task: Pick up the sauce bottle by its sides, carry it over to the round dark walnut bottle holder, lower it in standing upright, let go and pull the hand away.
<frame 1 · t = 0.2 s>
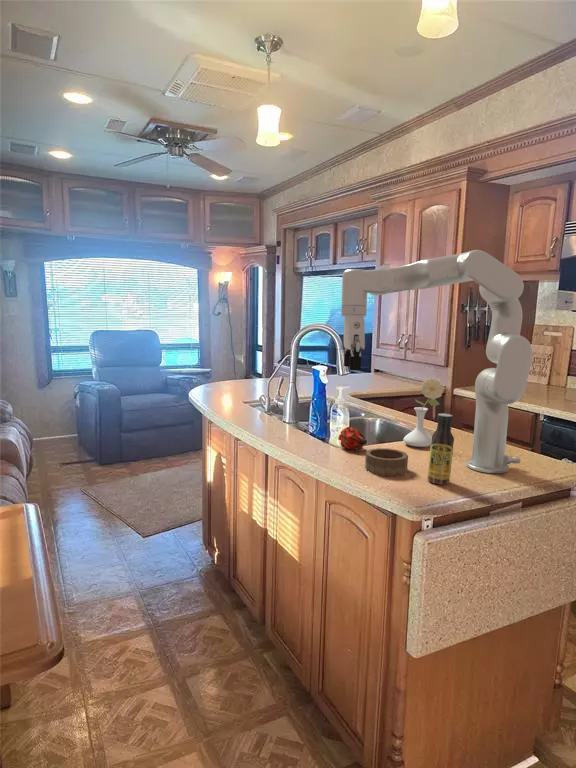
hand: (351, 368, 153), 31 cm above the worktop, tool pointing down, fingers open, 9 cm apart
dragon fruit: (352, 449, 177), on the worktop
sauce bottle: (439, 482, 144), on the worktop
flower in vase: (421, 446, 184), on the worktop
bottle holder: (385, 469, 155), on the worktop
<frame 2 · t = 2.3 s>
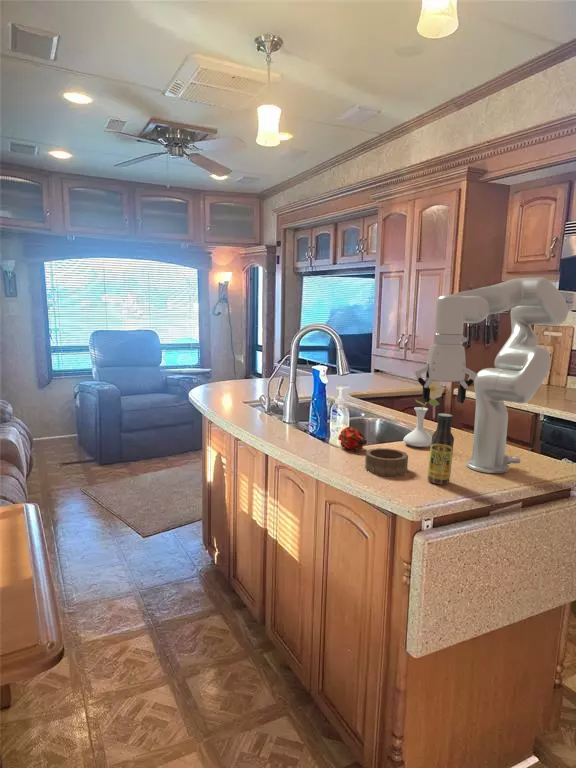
hand: (443, 401, 141), 24 cm above the worktop, tool pointing down, fingers open, 9 cm apart
nothing on the worktop moved.
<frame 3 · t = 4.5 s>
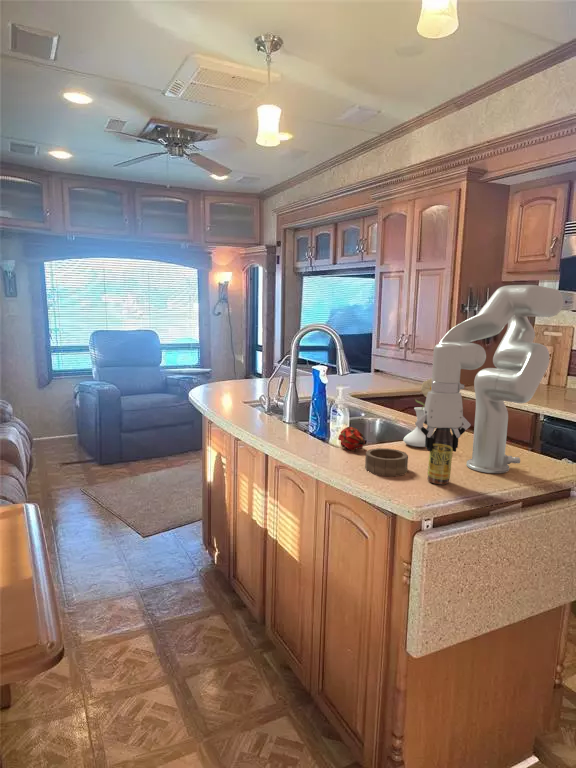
hand: (441, 449, 143), 10 cm above the worktop, tool pointing down, fingers closed on sauce bottle, 6 cm apart
sauce bottle: (439, 482, 144), on the worktop, touching gripper
everything else where it was.
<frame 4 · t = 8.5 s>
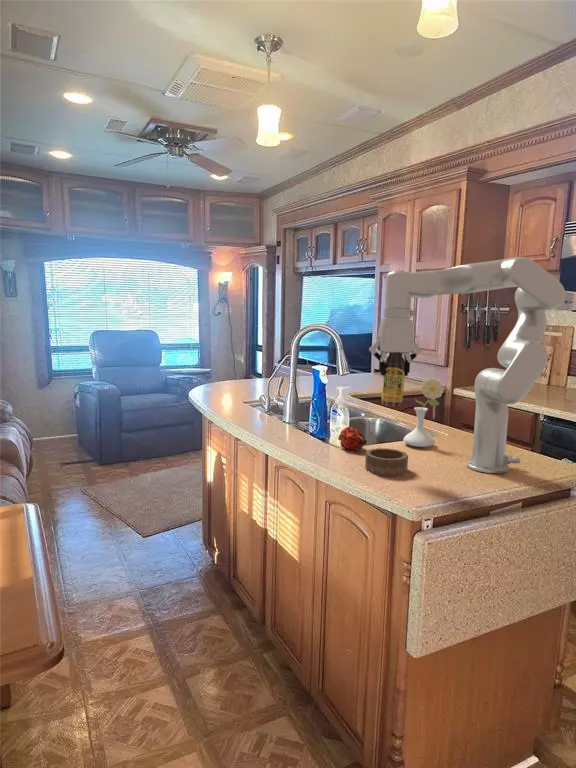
hand: (393, 374, 150), 30 cm above the worktop, tool pointing down, fingers closed on sauce bottle, 6 cm apart
sauce bottle: (392, 406, 151), point 20 cm above the worktop, touching gripper
everything else where it was.
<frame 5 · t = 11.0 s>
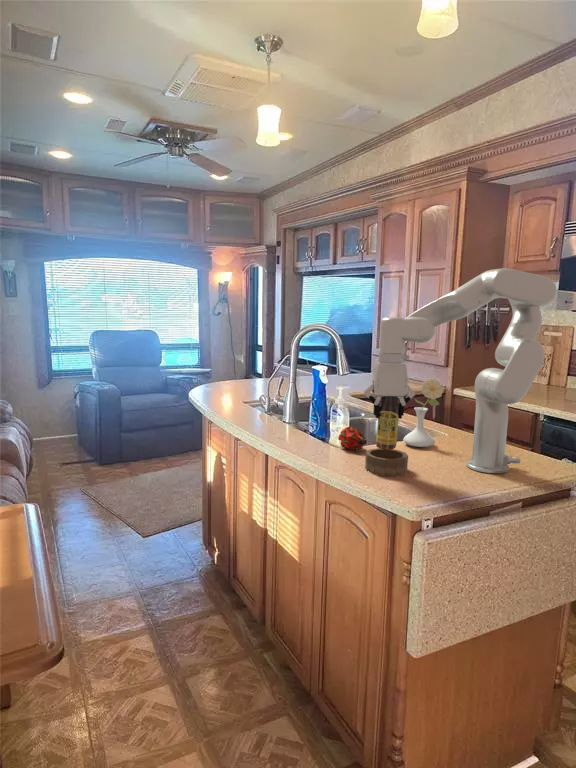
hand: (388, 417, 152), 17 cm above the worktop, tool pointing down, fingers closed on sauce bottle, 6 cm apart
sauce bottle: (386, 448, 154), point 7 cm above the worktop, touching gripper
everything else where it was.
when the fingers open (12 cm above the worktop, at t = 12.9 s): sauce bottle drops 1 cm, resting on bottle holder.
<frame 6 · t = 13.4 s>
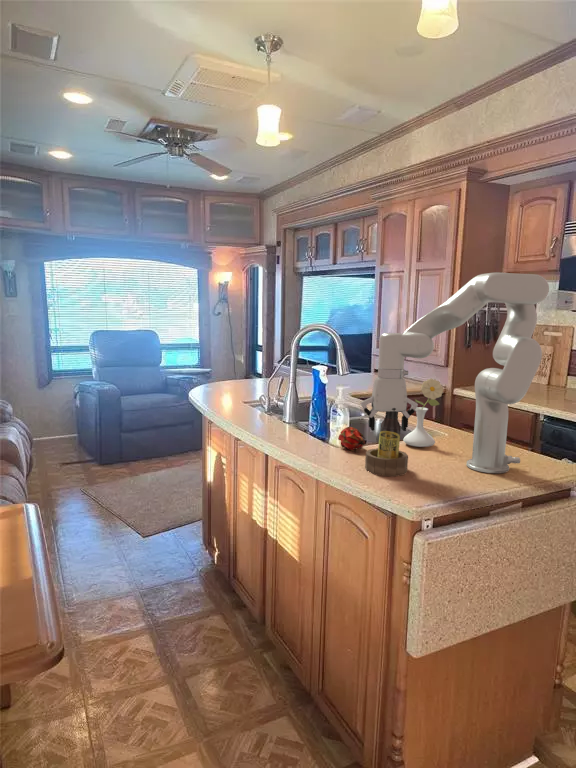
hand: (387, 429, 153), 13 cm above the worktop, tool pointing down, fingers open, 9 cm apart
sauce bottle: (387, 467, 155), point 1 cm above the worktop, touching bottle holder
everything else where it was.
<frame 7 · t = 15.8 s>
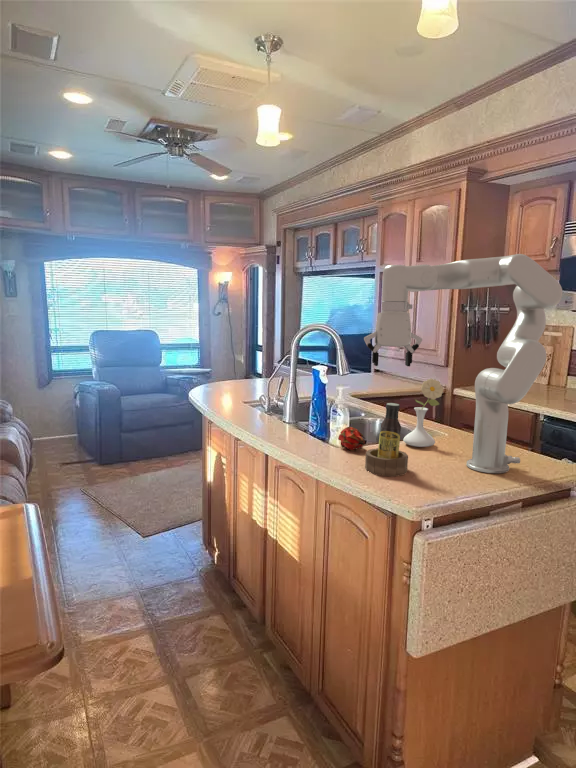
hand: (391, 365, 150), 32 cm above the worktop, tool pointing down, fingers open, 9 cm apart
nothing on the worktop moved.
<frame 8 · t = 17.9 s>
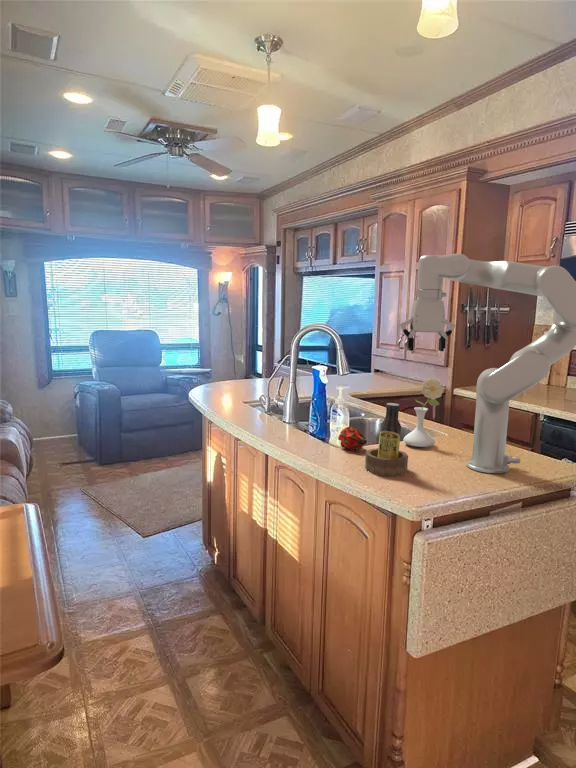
hand: (425, 350, 159), 36 cm above the worktop, tool pointing down, fingers open, 9 cm apart
nothing on the worktop moved.
at the end: sauce bottle 0.5 cm off-centre on the bottle holder, point 0.6 cm above the bottle holder's base; sauce bottle tilted 0°; the gripper is holding nothing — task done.
